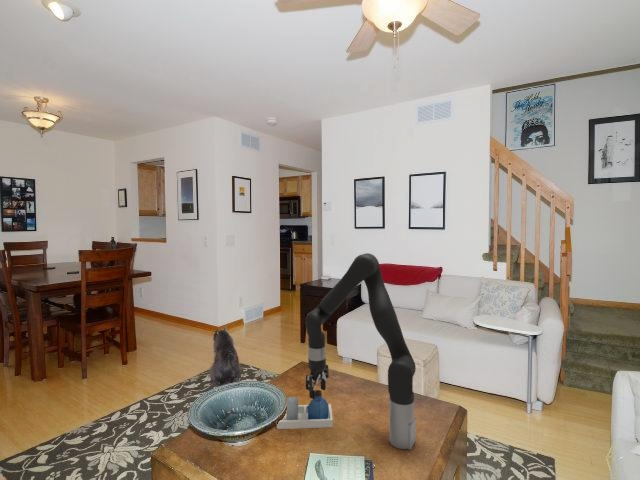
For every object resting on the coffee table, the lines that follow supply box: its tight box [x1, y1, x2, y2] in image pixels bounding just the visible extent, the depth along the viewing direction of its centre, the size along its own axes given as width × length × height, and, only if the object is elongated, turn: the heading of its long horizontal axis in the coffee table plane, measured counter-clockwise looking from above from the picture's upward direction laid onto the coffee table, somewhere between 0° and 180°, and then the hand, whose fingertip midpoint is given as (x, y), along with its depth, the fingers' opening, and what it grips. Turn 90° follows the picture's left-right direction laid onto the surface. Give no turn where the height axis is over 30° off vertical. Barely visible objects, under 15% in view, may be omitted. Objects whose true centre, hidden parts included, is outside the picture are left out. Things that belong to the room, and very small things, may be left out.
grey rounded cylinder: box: [286, 395, 299, 420], centre depth 146 cm, size 5×5×9 cm
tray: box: [276, 403, 334, 430], centre depth 146 cm, size 23×12×4 cm, turn 92°
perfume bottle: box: [307, 389, 329, 420], centre depth 146 cm, size 6×6×12 cm
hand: (317, 393), depth 145 cm, fingers open, 8 cm apart
